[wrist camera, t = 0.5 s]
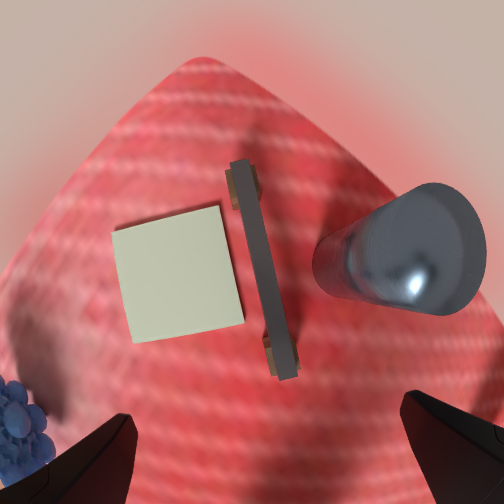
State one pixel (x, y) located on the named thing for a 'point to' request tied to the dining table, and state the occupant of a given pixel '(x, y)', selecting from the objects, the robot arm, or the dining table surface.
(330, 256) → the canister
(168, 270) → the mat
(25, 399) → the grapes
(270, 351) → the posts
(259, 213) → the bar
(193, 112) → the dining table surface
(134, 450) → the robot arm
